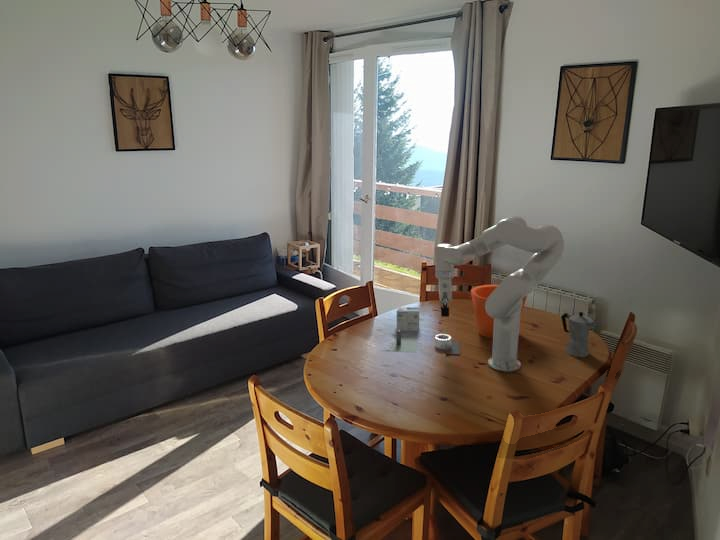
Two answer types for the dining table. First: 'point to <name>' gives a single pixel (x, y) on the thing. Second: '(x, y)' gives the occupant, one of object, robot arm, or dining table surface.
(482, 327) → the flowerpot
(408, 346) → the peg stand
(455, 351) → the charcoal mat
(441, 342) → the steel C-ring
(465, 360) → the dining table surface
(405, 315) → the light bulb box
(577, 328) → the coffeepot
